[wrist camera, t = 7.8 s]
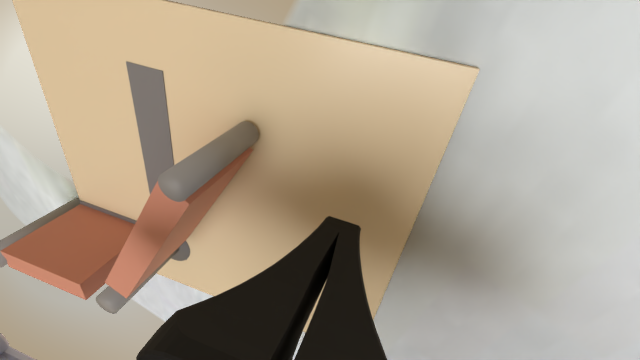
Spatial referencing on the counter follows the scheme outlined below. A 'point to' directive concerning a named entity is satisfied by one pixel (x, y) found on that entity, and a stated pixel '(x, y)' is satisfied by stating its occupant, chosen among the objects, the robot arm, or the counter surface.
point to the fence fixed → (72, 251)
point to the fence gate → (179, 206)
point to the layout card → (235, 107)
